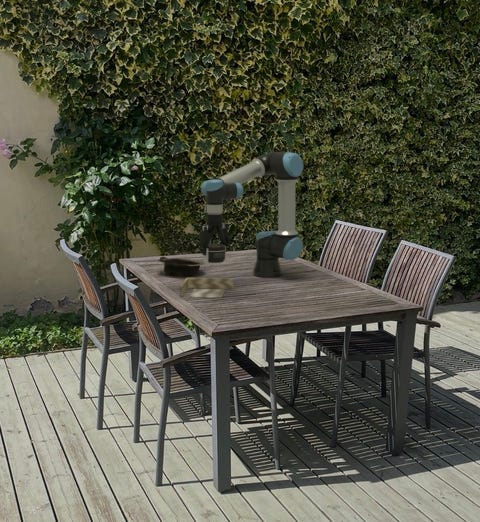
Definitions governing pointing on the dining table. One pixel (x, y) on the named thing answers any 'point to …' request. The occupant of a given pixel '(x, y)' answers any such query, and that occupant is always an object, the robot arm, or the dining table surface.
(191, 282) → the arena
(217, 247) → the jar
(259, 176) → the robot arm
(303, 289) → the dining table surface
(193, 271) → the stone bowl
